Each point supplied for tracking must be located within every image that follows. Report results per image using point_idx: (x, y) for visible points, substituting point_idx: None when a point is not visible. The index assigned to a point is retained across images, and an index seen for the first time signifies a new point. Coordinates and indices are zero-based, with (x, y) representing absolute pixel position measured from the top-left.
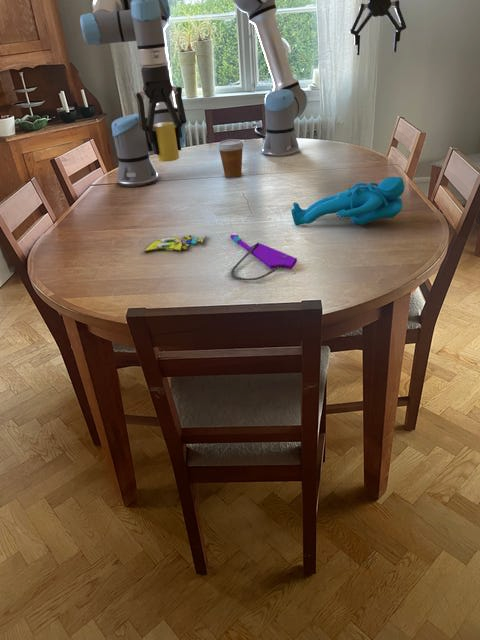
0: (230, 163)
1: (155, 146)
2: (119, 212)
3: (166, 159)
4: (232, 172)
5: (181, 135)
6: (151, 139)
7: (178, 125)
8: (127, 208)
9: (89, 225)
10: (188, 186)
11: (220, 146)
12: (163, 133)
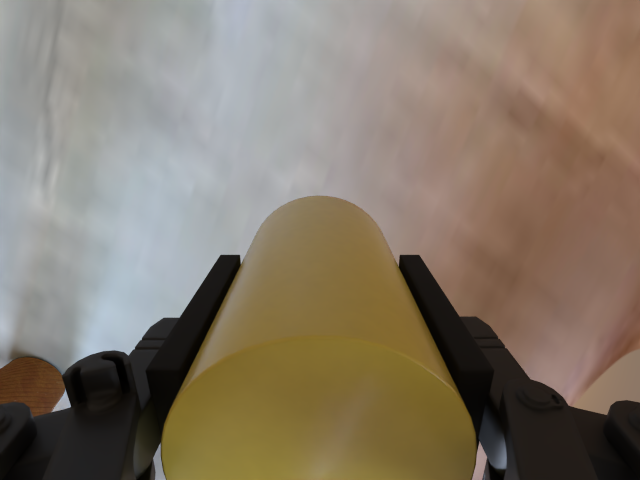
0: (6, 395)
1: (437, 285)
2: (489, 284)
3: (358, 210)
4: (28, 370)
5: (155, 330)
6: (479, 339)
7: (123, 393)
8: (452, 303)
9: (618, 231)
10: None
11: None
12: (380, 293)
